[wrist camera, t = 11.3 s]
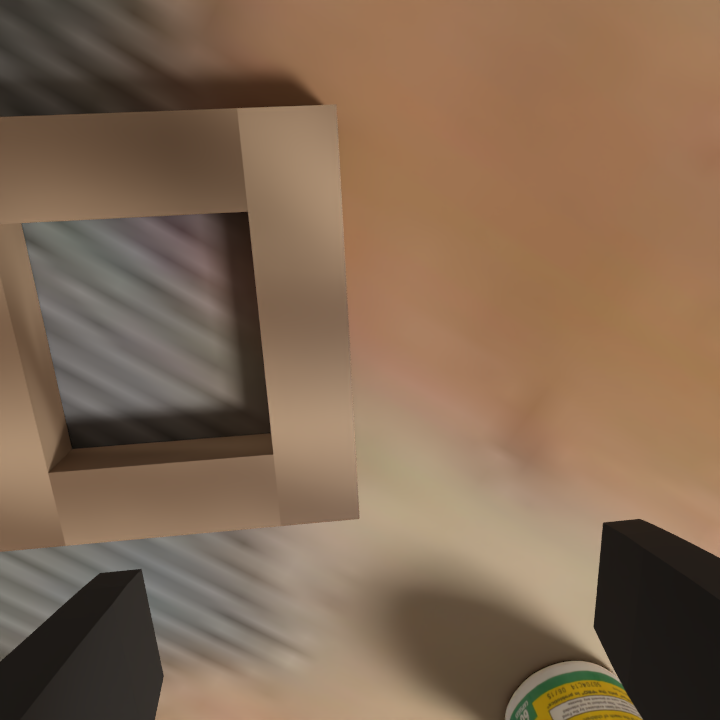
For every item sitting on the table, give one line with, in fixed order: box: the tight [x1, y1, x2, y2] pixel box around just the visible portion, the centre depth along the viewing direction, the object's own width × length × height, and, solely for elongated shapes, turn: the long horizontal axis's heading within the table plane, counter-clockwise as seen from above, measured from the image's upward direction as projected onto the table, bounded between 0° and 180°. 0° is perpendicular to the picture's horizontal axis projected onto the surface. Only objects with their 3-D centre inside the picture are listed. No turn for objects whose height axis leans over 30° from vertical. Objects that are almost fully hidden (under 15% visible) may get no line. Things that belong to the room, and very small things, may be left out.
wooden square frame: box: [0, 105, 359, 552], centre depth 15 cm, size 12×12×2 cm
